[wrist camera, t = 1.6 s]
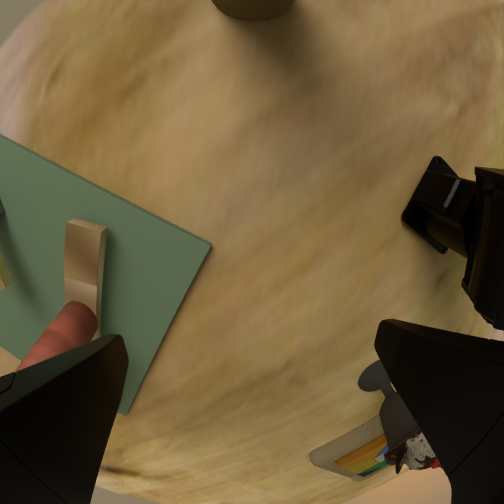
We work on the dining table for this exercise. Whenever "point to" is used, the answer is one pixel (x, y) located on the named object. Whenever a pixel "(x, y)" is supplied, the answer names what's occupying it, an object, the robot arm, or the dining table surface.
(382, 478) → the dining table surface
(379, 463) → the wooden puzzle
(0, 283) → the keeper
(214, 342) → the dining table surface
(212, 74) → the dining table surface
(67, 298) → the latch bar
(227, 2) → the cork
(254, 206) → the dining table surface
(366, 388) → the sundae
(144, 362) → the latch board
